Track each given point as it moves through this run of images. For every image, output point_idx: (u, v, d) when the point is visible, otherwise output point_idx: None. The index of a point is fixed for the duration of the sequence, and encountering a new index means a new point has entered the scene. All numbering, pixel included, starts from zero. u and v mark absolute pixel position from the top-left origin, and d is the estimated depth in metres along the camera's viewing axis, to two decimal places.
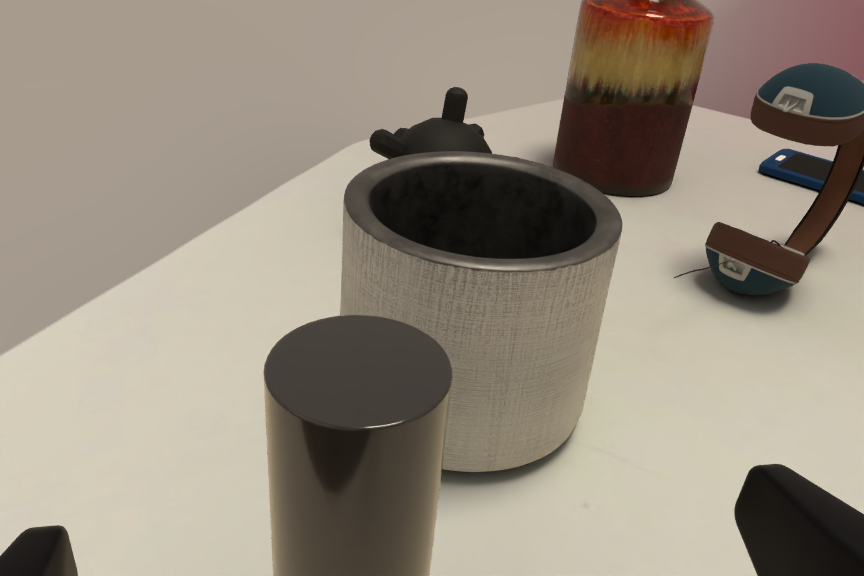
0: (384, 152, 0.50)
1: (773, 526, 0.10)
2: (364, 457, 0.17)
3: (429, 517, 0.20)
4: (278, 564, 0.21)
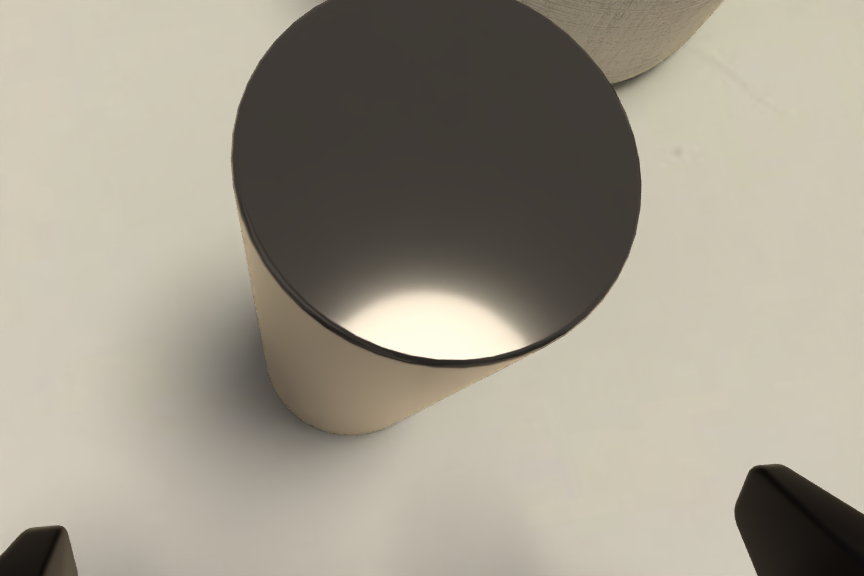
0: None
1: (773, 526, 0.10)
2: (439, 378, 0.09)
3: None
4: (266, 342, 0.14)
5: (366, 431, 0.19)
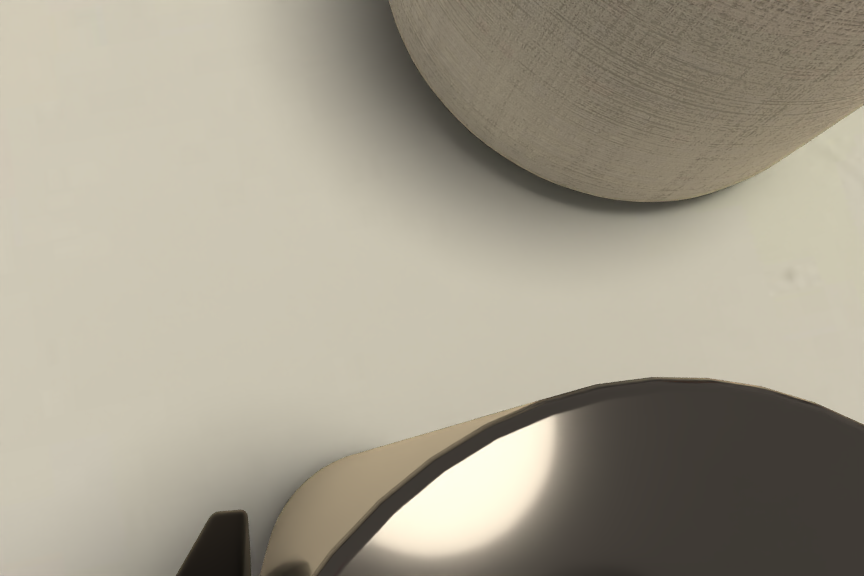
0: None
1: None
2: None
3: None
4: None
5: None
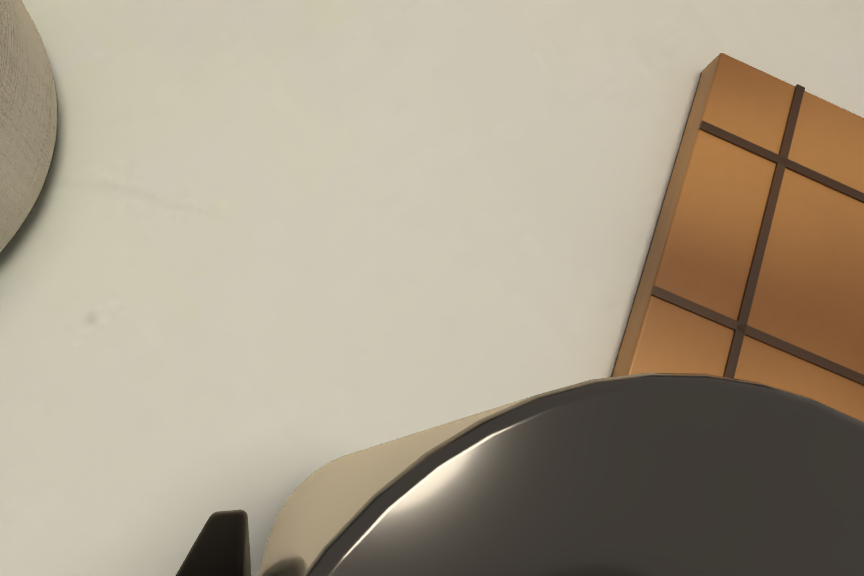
0: None
1: None
2: None
3: None
4: None
5: None
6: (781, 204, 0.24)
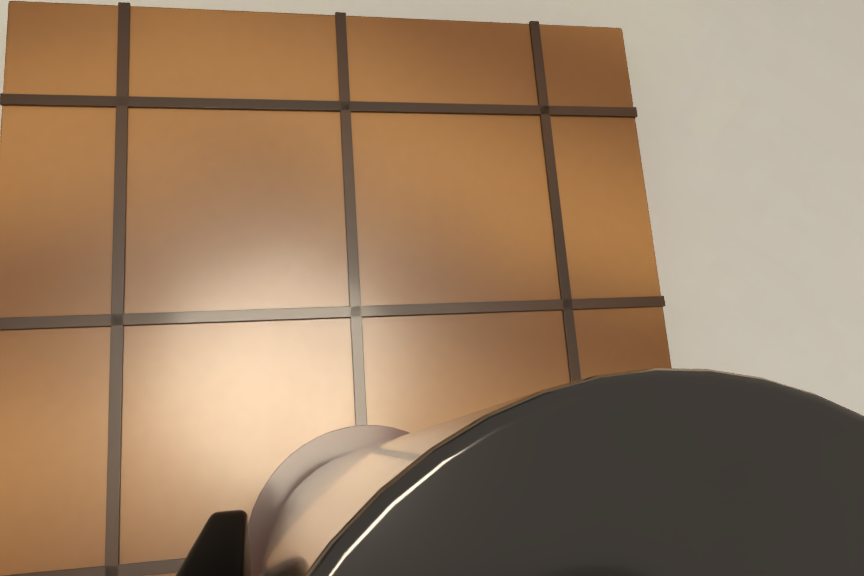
0: None
1: None
2: None
3: None
4: None
5: None
6: (135, 152, 0.20)
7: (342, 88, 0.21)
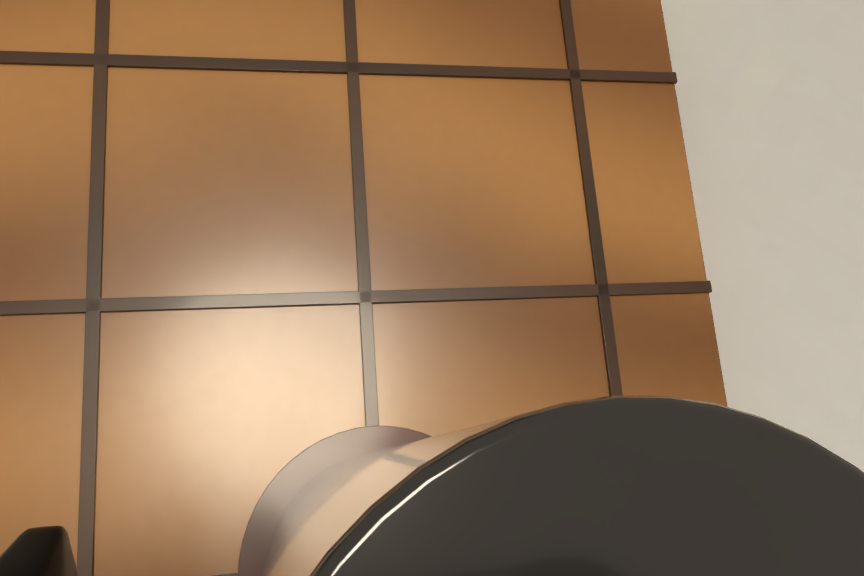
0: None
1: None
2: None
3: None
4: None
5: None
6: (115, 117, 0.17)
7: (349, 48, 0.19)
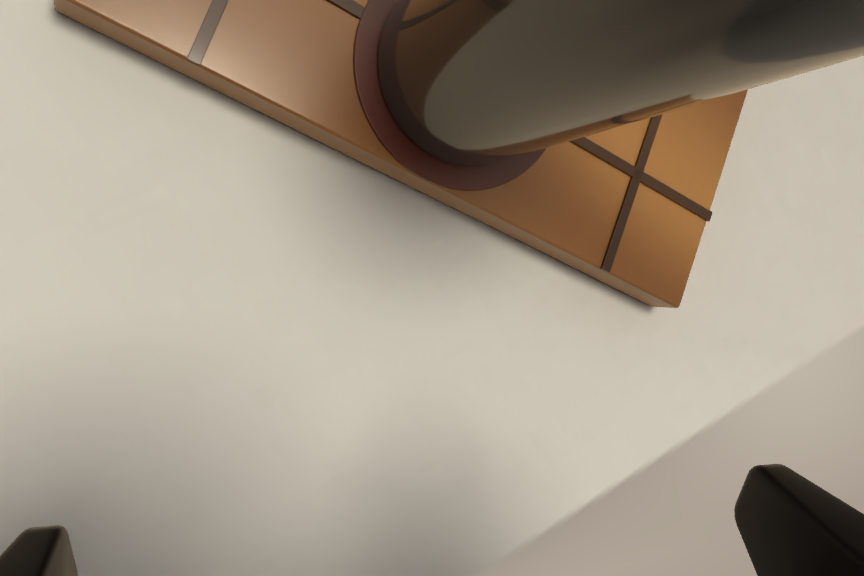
0: None
1: (773, 526, 0.10)
2: None
3: None
4: None
5: (462, 150, 0.17)
6: None
7: None
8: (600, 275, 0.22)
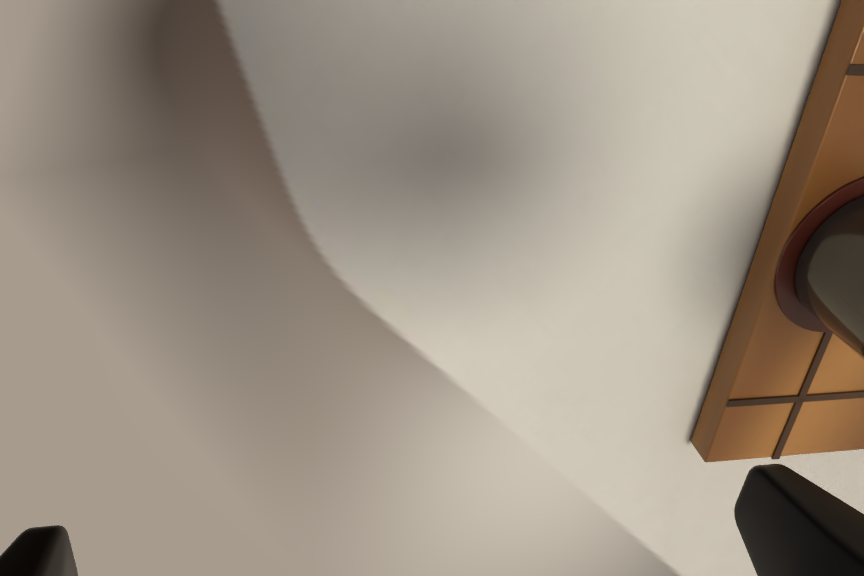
0: None
1: (773, 526, 0.10)
2: None
3: None
4: None
5: (825, 284, 0.23)
6: None
7: None
8: (715, 399, 0.28)
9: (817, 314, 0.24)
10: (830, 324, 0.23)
